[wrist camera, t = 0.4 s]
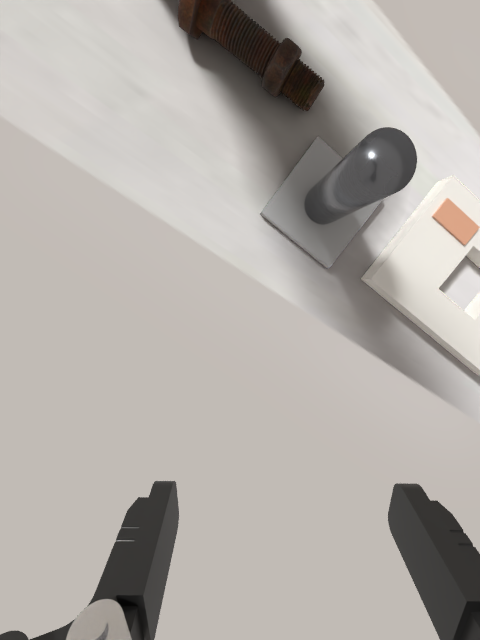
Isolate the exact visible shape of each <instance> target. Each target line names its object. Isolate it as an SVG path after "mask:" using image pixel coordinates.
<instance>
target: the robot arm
mask: <svg viewBox="0 0 480 640" xmlns="http://www.w3.org/2000/svg"><path fill="white" fill-rule="evenodd" d="M178 520H179V509H178V498H177V488H176V482H175V481H155V482H154V484H153V486H152V489H151V493H150V495H149V498H140V497H139V498H138V499H137V500H136V501H135V502H134V503H133V505H132V506H131V507H130V508H129V509H128V511H127V513H126V516H125V518H124V521H123V523H122V527H121V529H120V531H119V533H118V536H117V539H116V542H115V544H114V546H113V549H112V551H111V554H110V557H109V559H108V561H107V564H106V567H105V569H104V572H103V574H102V577H101V579H100V582H99V584H98V587H97V590H96V592H95V594H94V596H93V598H92V600H91V602H90V603H89V605H88V606H87V607H86V608H85V609H84V610H83V611H82V612H81V613H80V614H79V615H78V616H77V618H76V619H75V620H73V621H72V622H71V623H69V624H67V625H66V626H64V627H62V628H59V629H57V630H55V631H52V632H49V633H46V634H44V635H41V636H39V637H36V638H33V639H30V640H154V638H155V633H156V628H157V624H158V619H159V614H160V609H161V605H162V599H163V595H164V590H165V586H166V581H167V576H168V571H169V567H170V562H171V557H172V553H173V548H174V543H175V539H176V534H177V528H178ZM388 521H389V527H390V530H391V533H392V536H393V538H394V540H395V542H396V544H397V546H398V549H399V551H400V553H401V555H402V557H403V560H404V562H405V564H406V566H407V568H408V570H409V573H410V575H411V577H412V579H413V581H414V584H415V586H416V588H417V590H418V592H419V594H420V597H421V599H422V601H423V603H424V605H425V607H426V610H427V612H428V614H429V616H430V618H431V621H432V623H433V625H434V627H435V629H436V631H437V634H438V636H439V638H440V640H480V554H479V552H478V551H477V550H476V548H475V547H473V545H472V542H471V541H470V539H469V538H468V536H467V535H466V534H465V533H464V532H463V529H462V528H461V526H460V525H459V523H458V522H457V520H456V519H455V518H454V516H453V515H452V514H451V513H450V512H449V511H448V510H447V509H446V508H445V507H443V506H442V505H441V504H440V503H439V502H438V501H430V500H429V498H428V497H427V495H426V493H425V492H424V490H423V489H422V487H421V486H420V485H418V484H395V485H394V488H393V493H392V497H391V502H390V507H389V512H388ZM0 640H28V638H27V636H26V635H25V634H24V633H23V632H20V631H9V632H6V633H3V634H1V635H0Z"/></svg>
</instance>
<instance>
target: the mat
mask: <svg viewBox="0 0 480 640" xmlns="http://www.w3.org/2000/svg"><path fill="white" fill-rule="evenodd" d="M342 159H343V158H342V157H341V156H340V155H339V154H338V153H336V152H335V151H334V150H333V149H332V148H331V147H330V146H329V145H327V144H326V143H325V142H324V141H323V140H322V139H321V138H320V137H317V138H316V139H315V141H314V142H313V143H312V145H311V146H310V147H309V149H308V150H307V151H306V153H305V154H304V155H303V157H302V158H301V159H300V161H299V162H298V163H297V165H296V166H295V167H294V169H293V170H292V171H291V173H290V174H289V175H288V177H287V178H286V180H285V181H284V182H283V184H282V185H281V186H280V188H279V189H278V190H277V192H276V193H275V194H274V196H273V197H272V198H271V200H270V201H269V202H268V204H267V205H266V206H265V208H264V209H263V210H262V212H261V213H260V214H261V215H262V216H263V217H264V218H266V219H267V220H268V221H269V222H271V223H272V224H273V225H274V226H275V227H277V228H278V229H279V230H280V231H282V232H283V233H284V234H285V235H287V236H288V237H289V238H290V239H291V240H293V241H294V242H295V243H296V244H298V245H299V246H300V247H301V248H302V249H304V250H305V251H306V252H307V253H309V254H310V255H311V256H312V257H314V258H315V259H316V260H317V261H318V262H320V263H321V264H322V265H323V266H325V267H326V268H330V267H331V266H332V264H333V263H334V262H335V260H336V259H337V258H338V257H339V255H340V254H341V253H342V251H343V250H344V249H345V248H346V246H347V245H348V244H349V242H350V241H351V240H352V239H353V237H354V236H355V235H356V234H357V232H358V231H359V230H360V228H361V227H362V226H363V225H364V223H365V222H366V221H367V219H368V218H369V217H370V216H371V214H372V213H373V212H374V210H375V209H376V208H377V207H378V205H379V204H380V203H381V201H382V200H383V199H384V198H383V199H381V200H379V201H377V202H375V203H372V204H370V205H368V206H366V207H364V208H362V209H360V210H358V211H355V212H353V213H351V214H349V215H347V216H345V217H343V218H340V219H338V220H336V221H334V222H332V223H329V224H324V225H322V224H317V223H315V222H313V221H312V220H311V219H310V218H309V217H308V215H307V214H306V211H305V205H304V203H305V198H306V195H307V193H308V192H309V190H310V189H311V188H312V187H313V186H314V185H316V184H317V183H318V182H319V181H320V180H321V179H322V178H323V177H324V176H325V175H326V174H327V173H328V172H329V171H330V170H331V169H332V168H334V167H335V166H336V165H337V164H338V163H339V162H340V161H341V160H342Z"/></svg>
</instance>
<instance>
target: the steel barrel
mask: <svg viewBox="0 0 480 640" xmlns="http://www.w3.org/2000/svg"><path fill="white" fill-rule="evenodd" d="M416 164H417V155H416V150H415V147H414V144H413V143H412V141H411V139H410V138H409V137H408V136H407V135H406V134H405V133H404V132H402V131H400V130H398V129H395V128H389V127H387V128H380V129H377V130H375V131H373V132H371V133H370V134H369V135H367V136H366V137H365V138H364V139H363V140H362V141H361V142H360V143H359V144H358V145H357V146H356V147H355V148H354V149H353V150H352V151H350V152H349V153H348V154H347V155H346V156H345V157H344V158H343V159H342V160H341V161H340V162H339V163H338V164H337V165H336V166H335V167H334V168H332V169H331V170H330V171H329V172H328V173H327V174H326V175H325V176H324V177H323V178H322V179H321V180H320V181H319V182H318V183H317V184H316V185H314V186H313V187H312V188H311V189H310V190H309V192H308V193H307V195H306V198H305V203H304V205H305V211H306V214H307V215H308V217H309V218H310V219H311V220H312V221H313V222H315V223H317V224H322V225H324V224H329V223H332V222H334V221H336V220H338V219H340V218H343V217H345V216H347V215H349V214H351V213H353V212H355V211H358V210H360V209H362V208H364V207H366V206H368V205H370V204H372V203H375V202H377V201H379V200H381V199H383V198H385V197H387V196H390V195H392V194H394V193H396V192H398V191H400V190H401V189H403V188H404V187H405V186H406V185H407V184H408V183H409V182H410V180H411V179H412V177H413V175H414V172H415V169H416Z"/></svg>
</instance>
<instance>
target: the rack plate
mask: <svg viewBox="0 0 480 640" xmlns="http://www.w3.org/2000/svg"><path fill="white" fill-rule="evenodd" d="M465 256H467V257H468V258H469V259H470V260H471V261H472V262H473V263H474V264H475V265H477V266H478V267H479V268H480V199H478V198H477V197H476V196H475V195H474V194H473V193H472V192H471V191H470V190H469V189H468V188H467V187H466V186H465V185H464V184H463V183H462V182H460V181H459V180H458V179H457V178H456V177H455V176H454V175H452V176H450V177H448V178H445V179H443V180H441V181H438V182H437V183H436V184H435V186H434V187H433V188H432V189H431V191H430V192H429V193H428V194H427V196H426V197H425V198H424V199H423V201H422V202H421V203H420V204H419V206H418V207H417V208H416V210H415V211H414V212H413V213H412V215H411V216H410V217H409V218H408V220H407V221H406V222H405V223H404V225H403V226H402V227H401V229H400V230H399V231H398V232H397V234H396V235H395V236H394V237H393V239H392V240H391V241H390V242H389V244H388V245H387V246H386V247H385V249H384V250H383V251H382V253H381V254H380V255H379V256H378V258H377V259H376V260H375V261H374V263H373V264H372V265H371V266H370V268H369V269H368V270H367V271H366V273H365V274H364V275H363V277H362V278H361V280H362V281H364V282H365V283H366V284H367V285H369V286H370V287H371V288H372V289H373V290H375V291H376V292H377V293H378V294H379V295H381V296H382V297H383V298H384V299H385V300H387V301H388V302H389V303H390V304H392V305H393V306H394V307H395V308H396V309H398V310H399V311H400V312H401V313H402V314H404V315H405V316H406V317H407V318H408V319H410V320H411V321H412V322H413V323H415V324H416V325H417V326H418V327H419V328H421V329H422V330H423V331H424V332H425V333H427V334H428V335H429V336H430V337H431V338H433V339H434V340H435V341H436V342H438V343H439V344H440V345H441V346H442V347H444V348H445V349H446V350H447V351H448V352H450V353H451V354H452V355H453V356H454V357H456V358H457V359H458V360H459V361H461V362H462V363H463V364H464V365H465V366H467V367H468V368H469V369H470V370H471V371H473V372H474V373H475V374H477V375H479V376H480V292H479V293H478V294H477V295H476V297H475V298H474V299H473V300H472V301H471V303H470V304H469V305H468V306H467V307H466V309H465V310H463V309H462V308H460V307H459V306H458V305H457V304H456V303H455V302H454V301H452V300H451V299H450V298H449V297H448V296H447V295H445V294H444V293H443V292H442V291H441V290H440V289H439V287H440V286H441V285H442V284H443V283H444V281H445V280H446V279H447V278H448V276H449V275H450V274H451V273H452V272H453V270H454V269H455V268H456V267H457V265H458V264H459V263H460V262H461V261H462V259H463V258H464V257H465Z"/></svg>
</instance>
